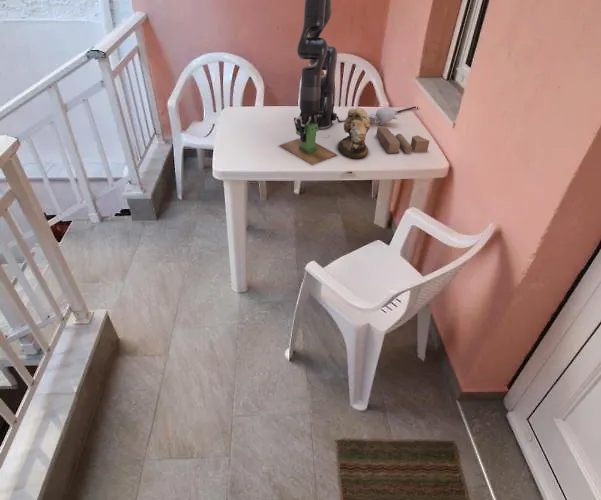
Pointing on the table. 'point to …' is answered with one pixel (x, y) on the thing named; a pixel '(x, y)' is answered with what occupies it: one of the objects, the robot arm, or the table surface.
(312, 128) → the toy dinosaur
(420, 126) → the table surface
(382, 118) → the toy creature
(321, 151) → the wooden board
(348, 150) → the tan lumpy upright piece
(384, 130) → the wooden block set
